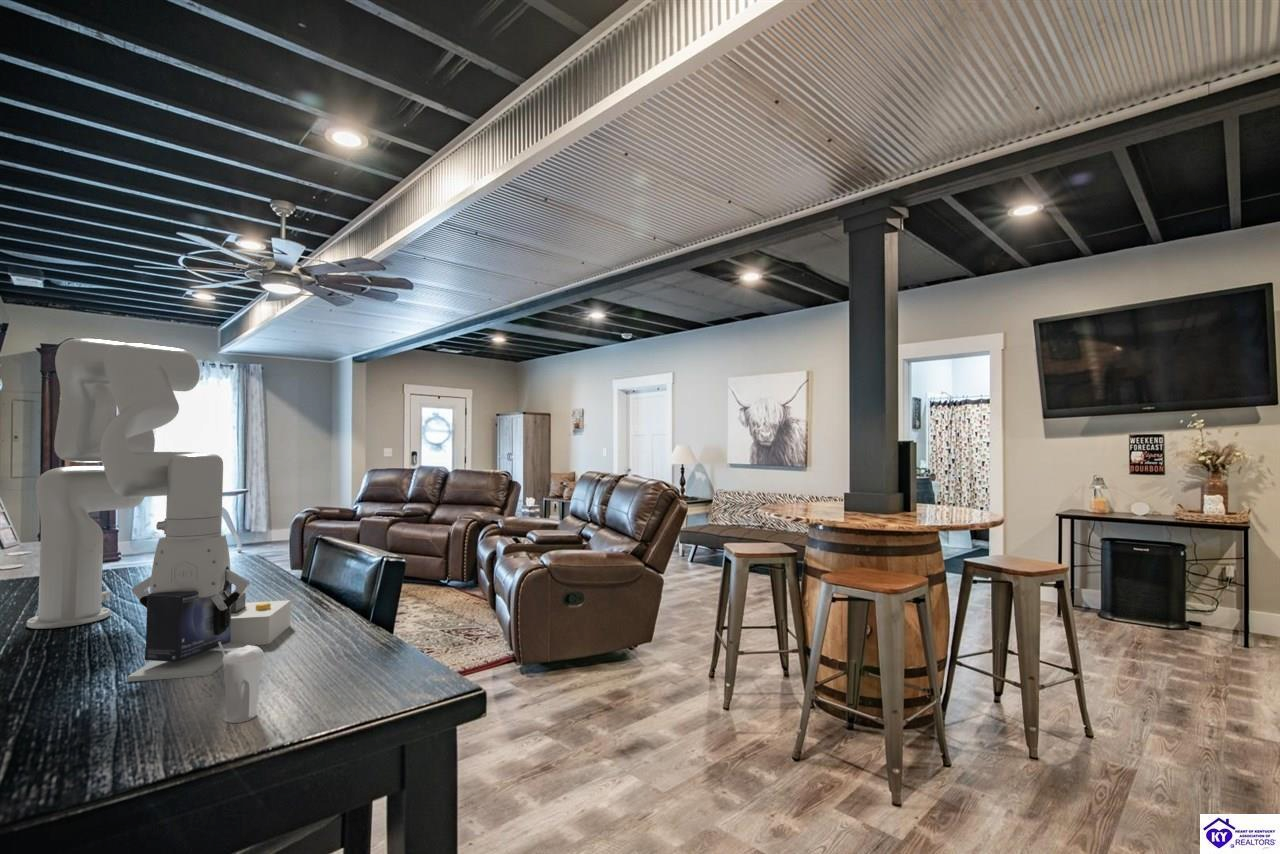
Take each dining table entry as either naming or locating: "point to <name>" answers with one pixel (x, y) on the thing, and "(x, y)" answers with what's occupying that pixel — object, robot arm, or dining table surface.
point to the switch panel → (260, 622)
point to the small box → (181, 626)
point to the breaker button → (238, 604)
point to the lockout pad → (184, 665)
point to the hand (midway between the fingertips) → (191, 633)
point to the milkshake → (242, 682)
